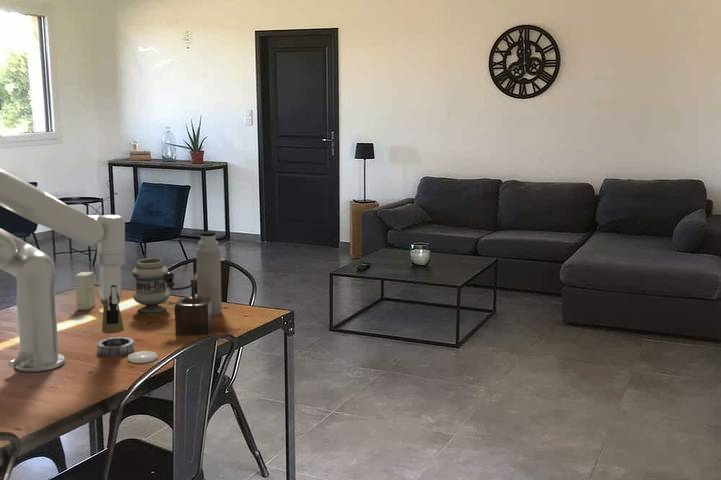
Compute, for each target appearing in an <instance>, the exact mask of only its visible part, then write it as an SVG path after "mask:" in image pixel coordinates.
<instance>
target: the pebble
mask: <svg viewBox="0 0 721 480" xmlns="http://www.w3.org/2000/svg"><path fill="white" fill-rule="evenodd" d="M157 359H158V353H156V351H155V352H154V351H150V350H140V351H135V352H131V353H129V354H127V362H130V363H133V364H146V363H151V362H154V361H156V360H157Z"/></svg>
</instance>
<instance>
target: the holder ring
mask: <svg viewBox="0 0 721 480" xmlns="http://www.w3.org/2000/svg"><path fill="white" fill-rule="evenodd" d="M96 345H97V346H96V347H97V348H96V349H97V354H99V355H101V356H104V357H120V356H125V355H130V354H132V353H134V350H135V339H133V338H131V337H127V336H114V337H107V338H104V339H102V340H99V341H98V343H97V344H96Z"/></svg>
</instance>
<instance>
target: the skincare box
mask: <svg viewBox="0 0 721 480" xmlns="http://www.w3.org/2000/svg"><path fill="white" fill-rule="evenodd" d="M74 279H75V281H74V282H75V297H76V298H75V299H76V310H82V311H83V310H85V311H86V310H87V311H88V310H91V309H92V308H94V307H95V306H96V295H95V294H96V293H95V279H94V271H81V272H79V273H77V274H75V276H74Z"/></svg>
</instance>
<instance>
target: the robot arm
mask: <svg viewBox="0 0 721 480" xmlns="http://www.w3.org/2000/svg"><path fill="white" fill-rule="evenodd" d="M0 207H2V208H4V209H6V210H8V211H11V212H12V213H15V214H16V215H18V216H20V217H23V219H26V220H28V221H31V222H33V223H35V224H38V225H40V226H43V227H46V228H48V229H50V230H53V231H54V232H57V233H59V234H61V235H63V236H65V237H67V238H69V239H71V240H73V241H75V242H77V243H79V244H81V245H82V246H87V247H92V246H96V265H97V266H99V275H98V277H99V280H98V295H99V296H100V299H101V298H102V299H103V300H104V301H105V300H106V299H107V309H108V310H106V323H107V324H117V323H118V300H119V299H120V300H121V298H122V266H124V265H125V263H126V231H125V230H126V228H125V227H126V223H125V218H124V217H123V216H122V215H119V214H103V215H92V214H91V215H90V214H86V213H83V212H82V211H79V210H78V209H76V208H75V207H72V206H71V205H68V204H66V203H65V202H63V201H62V200H60V199H58V198H56V197H55V196H54V195H51V194H50V193H48V192H46V190H43V189H41V188H39V187H37V186H35V185H33V184H31V183H30V182H27V181H25V180H23V179H21V178H19V177H17V176H16V175H14V174H12V173H9V172H8V171H6V170H5V169H2V168H0ZM0 270H2V271H3V272H5V273H8V274H10V275H11V276H13V277H15V279H16V307H17V308H16V310H17V319H18V320H17V321H18V322H17V323H18V334H19V348H20V351H18V352H17V356H16V358H14V359H12V360H9V361H8V362H7V365H8V367H9V368H10V369H12V368H13V369H14V368H15V369H16V370H18V371H22V372H30V373H31V372H36V373H37V372H45V371H49V370H53V369H56V368H59V367H61V366H63V365H64V364H65V362H66V357H65V356H64V355H63V354H60V352H59V337H58V321H57V306H56V305H57V304H56V278H57V276H56V275H57V272H56V265H55V263H54V261H53V259H52V258H51V257H50V256H49V255H48V254H47V253H45V252H44V251H42V250H40V249H38V248H37V247H35V246H33V245H31V244H30V243H28V242H26V241H25V240H23V239H21V238H19V237H18V236H16V235H14V234H12V233H10V232H8V231H6V230H5V229H3V228H1V227H0ZM109 297H112V299H109ZM110 302H112V303H110Z"/></svg>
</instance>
